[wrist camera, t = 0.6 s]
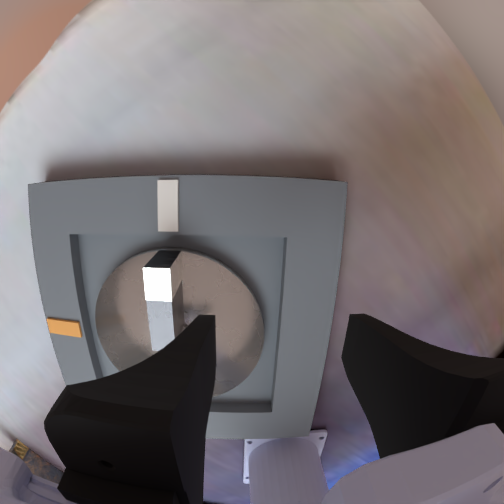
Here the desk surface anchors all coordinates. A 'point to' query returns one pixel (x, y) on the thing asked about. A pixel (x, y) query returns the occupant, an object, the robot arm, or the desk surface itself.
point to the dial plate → (217, 245)
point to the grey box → (36, 463)
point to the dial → (179, 310)
